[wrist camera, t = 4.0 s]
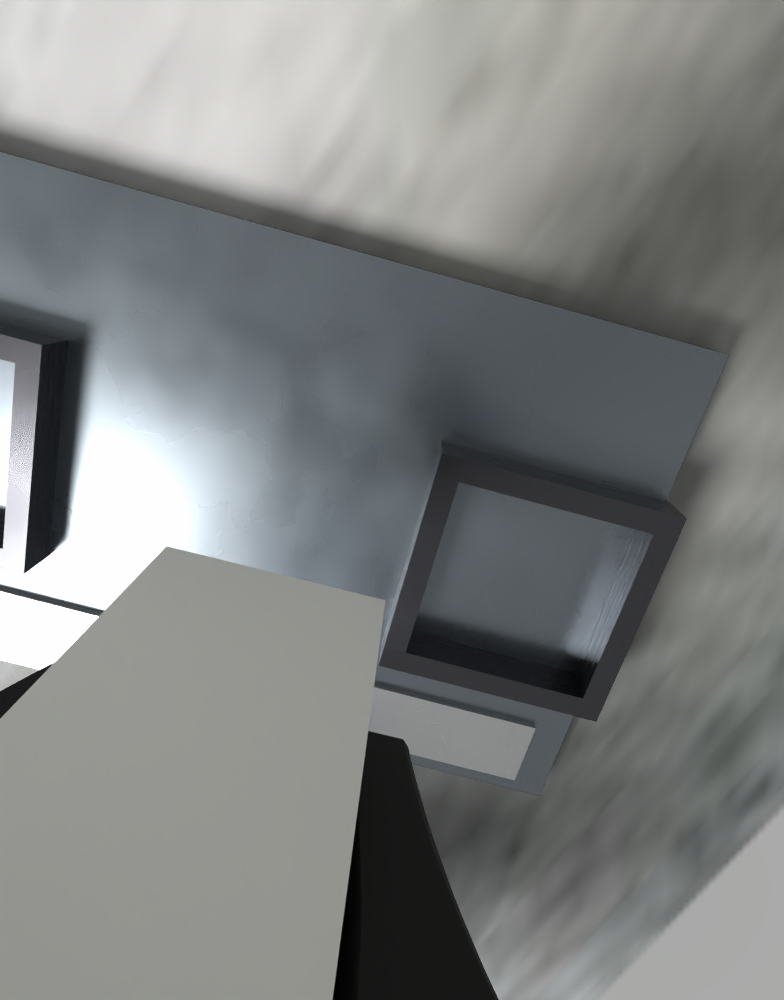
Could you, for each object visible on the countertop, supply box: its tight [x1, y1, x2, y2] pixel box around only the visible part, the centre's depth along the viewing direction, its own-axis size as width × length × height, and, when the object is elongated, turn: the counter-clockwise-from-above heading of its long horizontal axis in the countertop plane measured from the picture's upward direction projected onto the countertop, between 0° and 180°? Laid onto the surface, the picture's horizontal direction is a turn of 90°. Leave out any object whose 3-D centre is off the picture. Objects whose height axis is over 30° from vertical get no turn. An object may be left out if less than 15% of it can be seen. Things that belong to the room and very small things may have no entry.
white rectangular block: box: [0, 546, 385, 1000], centre depth 7 cm, size 4×4×8 cm
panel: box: [0, 152, 729, 796], centre depth 18 cm, size 14×22×2 cm, turn 75°
